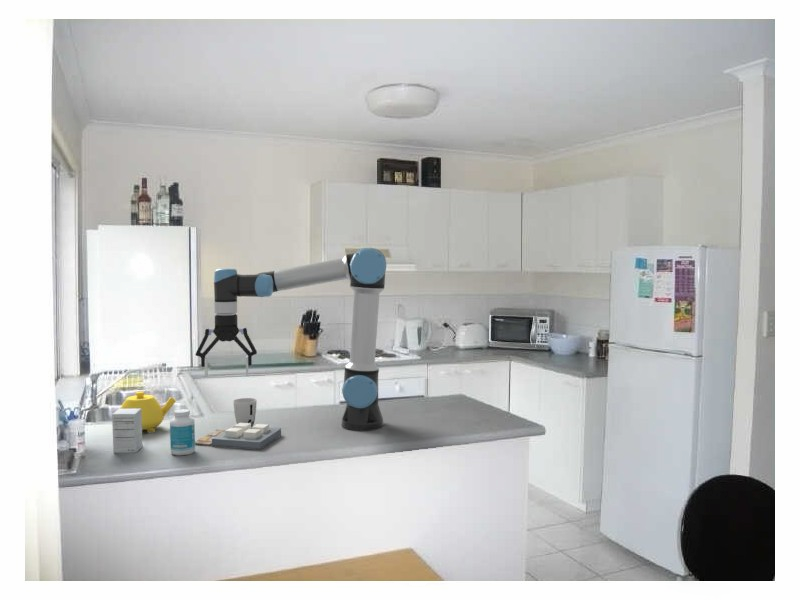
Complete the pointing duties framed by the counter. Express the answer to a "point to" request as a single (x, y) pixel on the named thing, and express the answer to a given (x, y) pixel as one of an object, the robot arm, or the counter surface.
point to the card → (208, 438)
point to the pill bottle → (182, 433)
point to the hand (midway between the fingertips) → (226, 375)
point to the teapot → (148, 409)
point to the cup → (245, 410)
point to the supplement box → (127, 430)
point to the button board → (247, 440)
